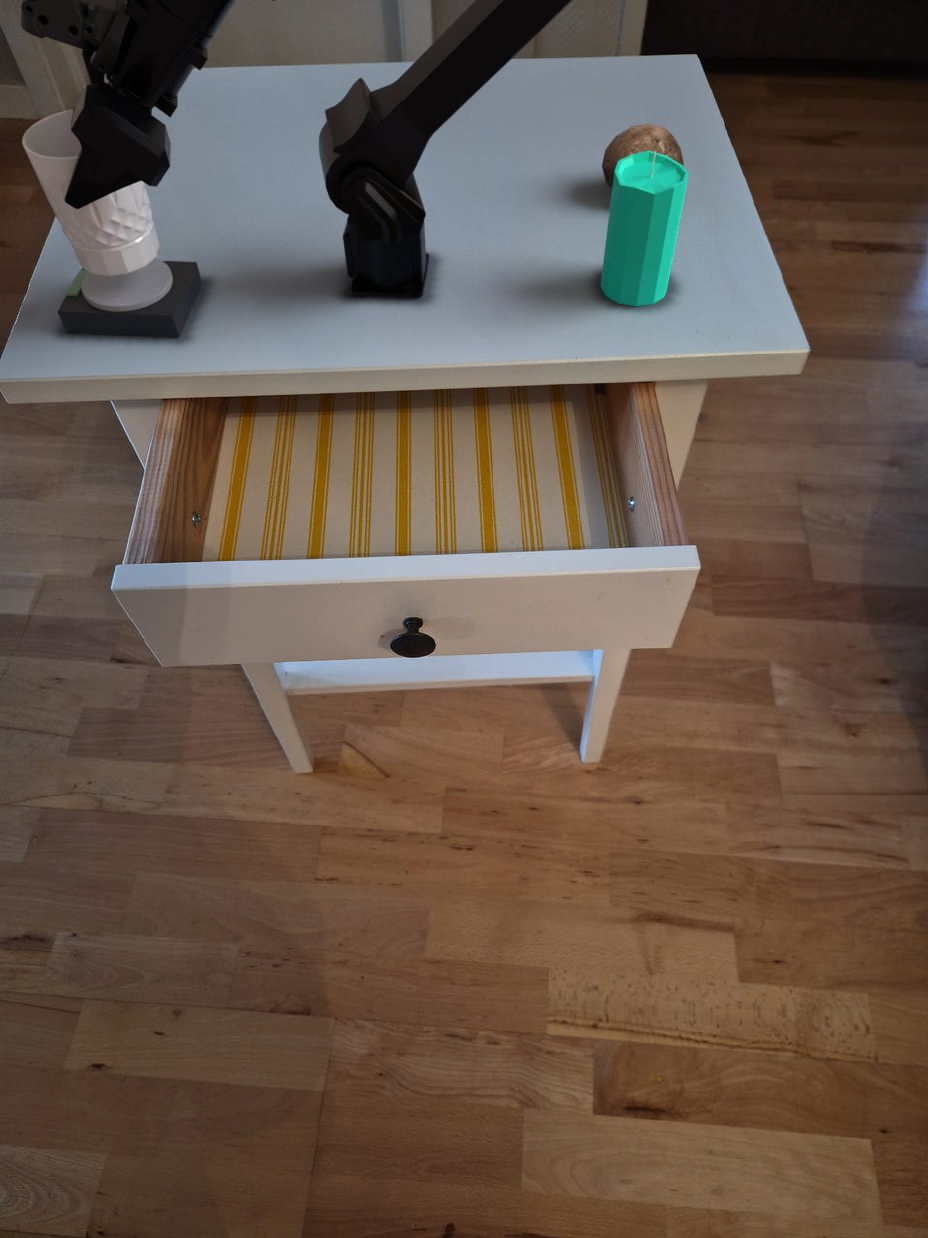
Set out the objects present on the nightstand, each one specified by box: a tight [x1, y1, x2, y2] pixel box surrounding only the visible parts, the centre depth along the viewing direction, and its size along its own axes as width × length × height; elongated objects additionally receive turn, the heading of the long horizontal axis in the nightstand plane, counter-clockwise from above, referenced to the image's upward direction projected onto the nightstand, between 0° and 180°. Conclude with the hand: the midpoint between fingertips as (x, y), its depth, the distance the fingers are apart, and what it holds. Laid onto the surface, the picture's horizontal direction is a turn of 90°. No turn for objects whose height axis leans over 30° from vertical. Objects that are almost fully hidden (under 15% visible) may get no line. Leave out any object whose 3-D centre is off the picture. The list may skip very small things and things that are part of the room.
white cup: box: [21, 108, 161, 276], centre depth 72 cm, size 8×8×10 cm
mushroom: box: [601, 122, 685, 191], centre depth 89 cm, size 8×8×6 cm
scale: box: [56, 257, 203, 339], centre depth 79 cm, size 10×8×3 cm
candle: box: [599, 151, 690, 307], centre depth 76 cm, size 6×6×12 cm
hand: (74, 177), depth 71 cm, fingers closed on white cup, 7 cm apart
